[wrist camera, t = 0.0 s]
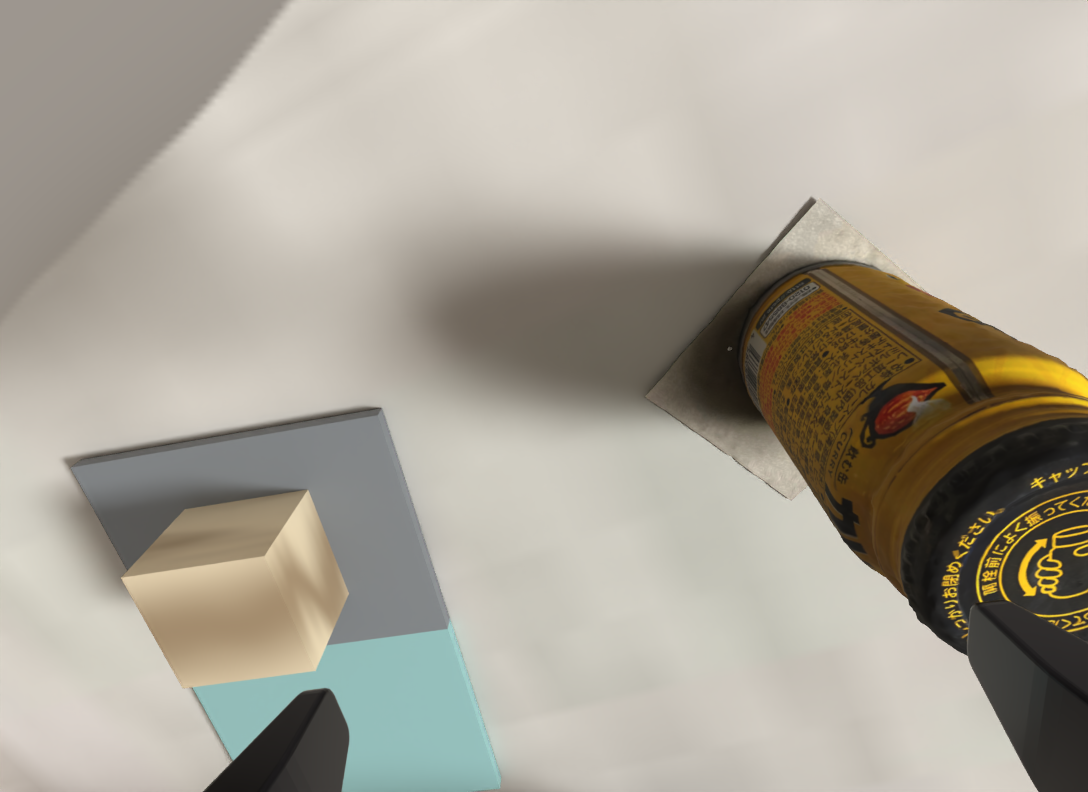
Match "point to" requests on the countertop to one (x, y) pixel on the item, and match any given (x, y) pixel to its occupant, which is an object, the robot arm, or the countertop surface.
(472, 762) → the runner mat
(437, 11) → the countertop surface
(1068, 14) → the countertop surface
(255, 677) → the beech block
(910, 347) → the condiment
